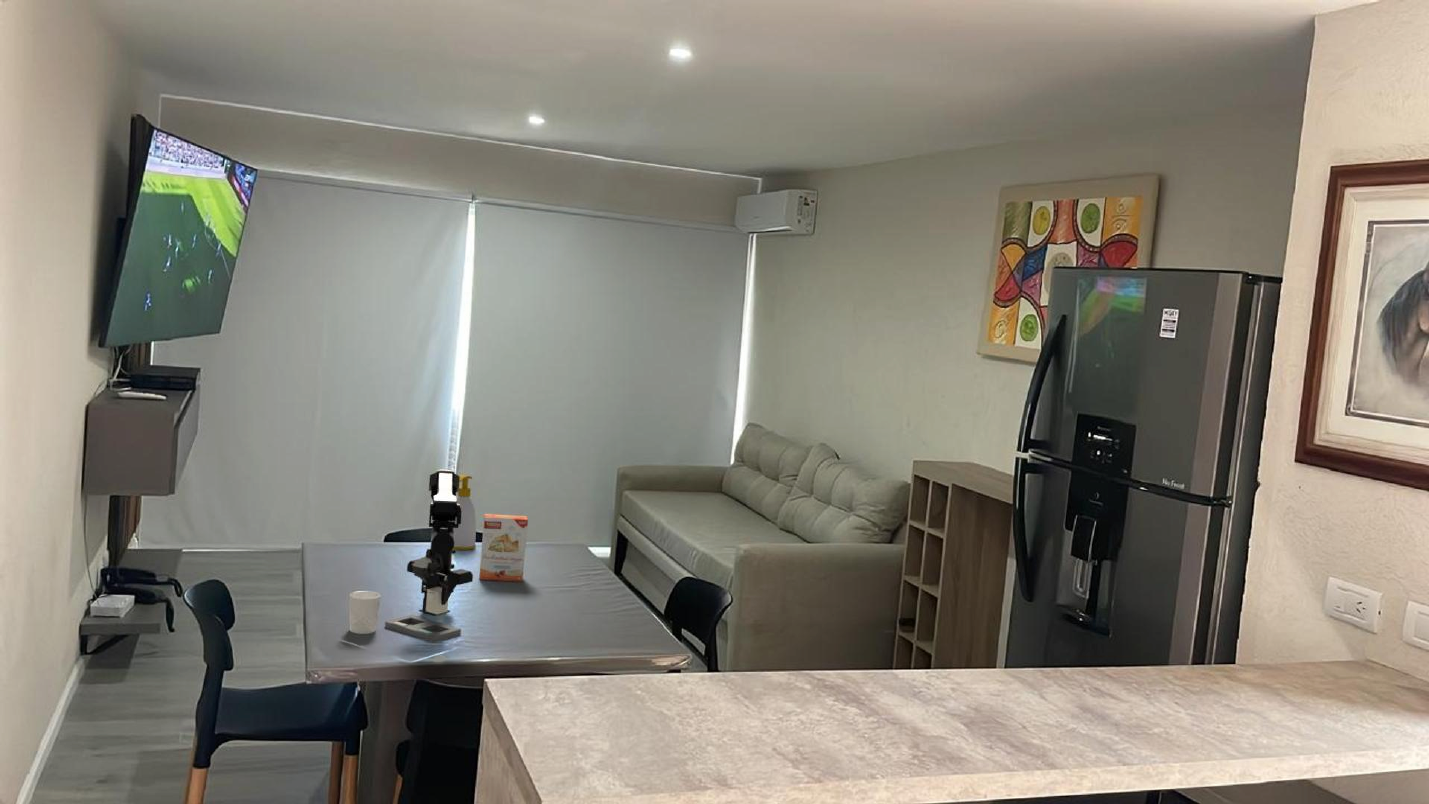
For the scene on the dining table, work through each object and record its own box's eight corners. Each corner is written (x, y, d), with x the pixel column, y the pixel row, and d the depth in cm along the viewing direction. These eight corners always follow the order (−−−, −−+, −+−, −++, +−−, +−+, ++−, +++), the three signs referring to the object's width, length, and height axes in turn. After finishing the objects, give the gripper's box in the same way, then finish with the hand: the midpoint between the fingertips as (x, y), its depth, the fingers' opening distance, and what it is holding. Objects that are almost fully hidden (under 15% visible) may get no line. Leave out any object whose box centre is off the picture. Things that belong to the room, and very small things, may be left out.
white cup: (368, 637, 297) (371, 600, 297) (341, 633, 299) (344, 596, 298) (383, 630, 305) (386, 593, 304) (356, 625, 307) (359, 589, 306)
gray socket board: (411, 621, 315) (412, 613, 315) (460, 636, 306) (461, 628, 306) (384, 628, 306) (385, 620, 306) (434, 644, 297) (434, 635, 297)
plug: (436, 608, 306) (438, 586, 306) (447, 611, 304) (449, 589, 304) (423, 611, 302) (425, 589, 301) (434, 615, 300) (436, 592, 299)
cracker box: (479, 580, 366) (484, 516, 364) (479, 575, 371) (484, 513, 370) (523, 582, 368) (528, 519, 367) (522, 577, 374) (527, 515, 373)
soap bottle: (438, 548, 404) (444, 475, 402) (451, 542, 416) (456, 471, 413) (468, 552, 402) (474, 479, 400) (480, 546, 414) (486, 475, 412)
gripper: (393, 543, 299) (389, 601, 301) (446, 557, 290) (442, 616, 292) (424, 537, 309) (420, 593, 311) (476, 550, 300) (471, 608, 301)
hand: (437, 603), depth 303 cm, fingers closed on plug, 4 cm apart
